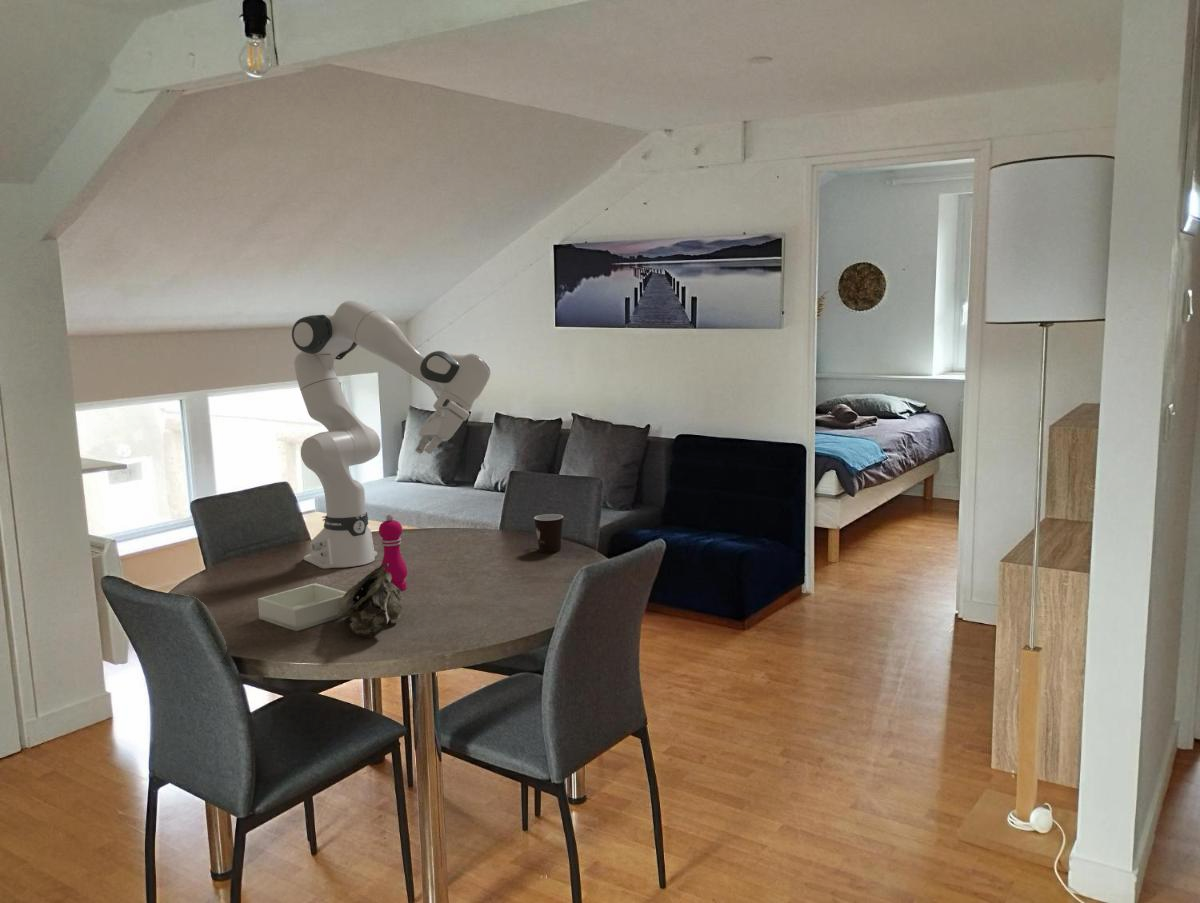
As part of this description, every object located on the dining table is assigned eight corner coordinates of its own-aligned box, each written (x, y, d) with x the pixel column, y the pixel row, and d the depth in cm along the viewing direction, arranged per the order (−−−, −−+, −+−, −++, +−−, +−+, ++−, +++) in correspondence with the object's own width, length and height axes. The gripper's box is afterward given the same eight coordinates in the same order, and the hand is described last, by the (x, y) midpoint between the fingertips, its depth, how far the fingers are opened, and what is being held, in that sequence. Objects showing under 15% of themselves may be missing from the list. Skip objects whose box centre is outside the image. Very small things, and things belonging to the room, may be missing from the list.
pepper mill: (402, 593, 259) (397, 517, 256) (375, 592, 260) (370, 517, 257) (412, 585, 266) (407, 511, 263) (387, 584, 267) (382, 511, 264)
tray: (259, 618, 242) (257, 598, 241) (316, 602, 253) (315, 583, 253) (296, 631, 231) (294, 610, 230) (354, 613, 243) (352, 593, 242)
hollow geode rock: (366, 666, 220) (411, 617, 219) (321, 630, 218) (366, 580, 217) (387, 621, 248) (427, 578, 246) (347, 589, 246) (387, 544, 244)
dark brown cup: (563, 553, 294) (562, 520, 292) (534, 554, 294) (533, 520, 293) (565, 543, 306) (564, 511, 304) (537, 544, 306) (536, 512, 304)
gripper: (430, 404, 276) (402, 446, 273) (452, 401, 257) (422, 445, 254) (448, 417, 278) (421, 458, 275) (471, 415, 260) (443, 459, 256)
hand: (422, 452), depth 264 cm, fingers open, 8 cm apart
